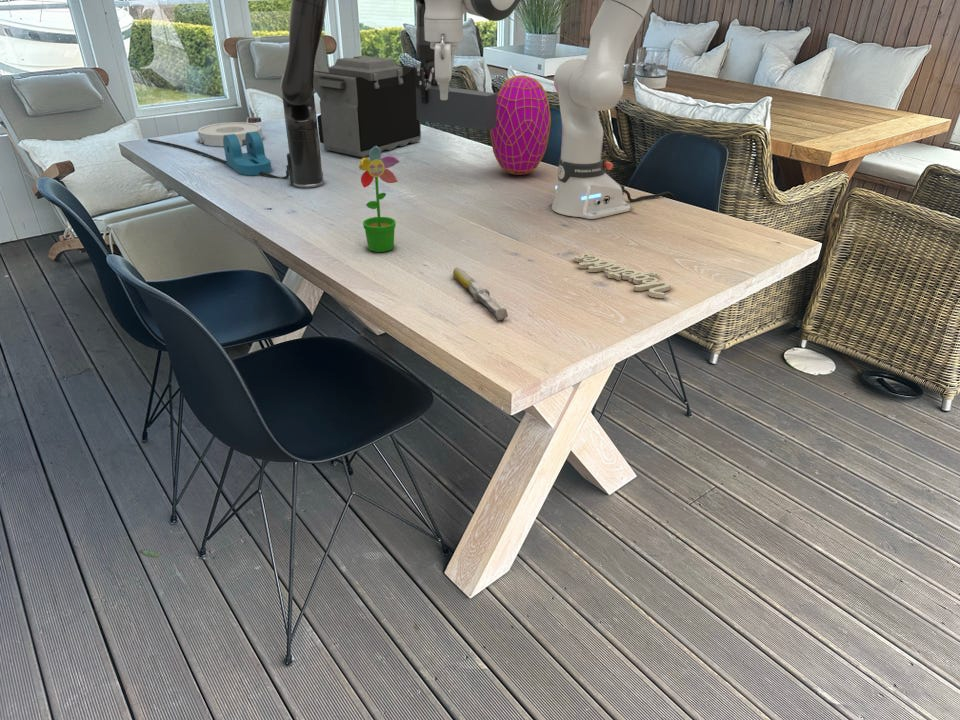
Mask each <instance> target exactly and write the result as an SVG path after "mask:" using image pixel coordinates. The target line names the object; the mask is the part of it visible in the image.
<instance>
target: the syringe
mask: <svg viewBox="0 0 960 720" xmlns="http://www.w3.org/2000/svg"><path fill="white" fill-rule="evenodd" d="M452 274H453V277H454V279H455V280H457V281H458V282H459V283H460V285H462V287H464V289H466V290H467V291H468V293H470V295H471V296H472V298H473V300H474V302H477V303H478V302H480V303H482V304H483V305H484V306H485V307H486V308H487V309H488V310H489V311H490V312H491V313H492V314H493V315H494V316H495V317H496V320H497V321H503V320H504V319H506V318H507V317H509V314H508V310H507V308H506V307H502V306H501V305H500V303H498V302H497V301H496V300H494V299H493V298H492V297H491V296H490V295H491V293H490V290H488V289H486V288H483V287H482V286H481V285H480V284H479V283H478V282H477V281H476V280H474V278H473V277H471V275H469V274H468V273H467V272H466V270H465V269H464V268H463V267H462V266H456V267H454V268H453V271H452Z"/></svg>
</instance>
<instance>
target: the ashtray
mask: <svg viewBox="0 0 960 720" xmlns="http://www.w3.org/2000/svg"><path fill="white" fill-rule="evenodd" d="M255 131H257V132H258V133H259V134H260V136H261V138H262V139H264V137H263V130H262V126H261V125H260V124H257V123H254V122H242V121H237V122H236V121H235V122H234V121H231V122H219V123H213V124H208V125H204V126H202V127H199V128H198V129H197V134H198V138H199V143H200V144H204V145H205V146H208V147H209V146H210V147H224V144H223V137H224V135H230V134H235V135H236V136H237V138H238V140H239V142H240V146H243V145H246V139H245V137H246V133H247V132H255Z"/></svg>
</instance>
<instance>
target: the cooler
mask: <svg viewBox="0 0 960 720" xmlns="http://www.w3.org/2000/svg"><path fill="white" fill-rule="evenodd" d="M415 68H418V67H417V66H408V65H400V64H396V62H395V60H394V59H393V58H385V57H377V56H367V55H356V56H353V57H350V58H349V57H343V58H342V57H341V58H337V59H336V60H335V63H334V64H333V65H330V66H329V67H328V72H327V71H320V70H314V78H313V90H314V92H315V93H316V94H317V96H318V98H319V110H320V111H319V112H320V114H319V115H317V116H316V117H317V127H318V137H319V144H323V146H324V149H325V150H327V151H330V152H335V153H340V154H344V155H348V156H353V157H357V158H361V159H362V158H368V157H369V152H370V150H371V149H372V148H373V147H375V146H378V147H379V148H380V150H381V153H382V152H383V151H391V150H395V149H396V148H397V147H405V146H407V145H408V144H416V143H418V142H419V141H421V137H422V128H421V122H422V121H420V120H417V111H416V79H415Z"/></svg>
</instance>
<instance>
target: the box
mask: <svg viewBox="0 0 960 720" xmlns="http://www.w3.org/2000/svg"><path fill="white" fill-rule="evenodd" d="M497 94H498V92H489V91H481V90H480V91H479V90H474V89H467V88H465V89H464V88H457V87H451V86H449V92H448V99H447V100H441V99H440V88H439V86H435V85H431V84H429V87H428V103H427V104H424V103H421V90H420V89H417V88H416V111H417V120H420V122H427V123H432V124H440V125H446V126H452V127H458V128H459V127H460V128H464V129H465V128H466V129H471V130H478V131H485V132H486V131H487V132H488V131H490V129H493V128H496V108H497Z"/></svg>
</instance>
